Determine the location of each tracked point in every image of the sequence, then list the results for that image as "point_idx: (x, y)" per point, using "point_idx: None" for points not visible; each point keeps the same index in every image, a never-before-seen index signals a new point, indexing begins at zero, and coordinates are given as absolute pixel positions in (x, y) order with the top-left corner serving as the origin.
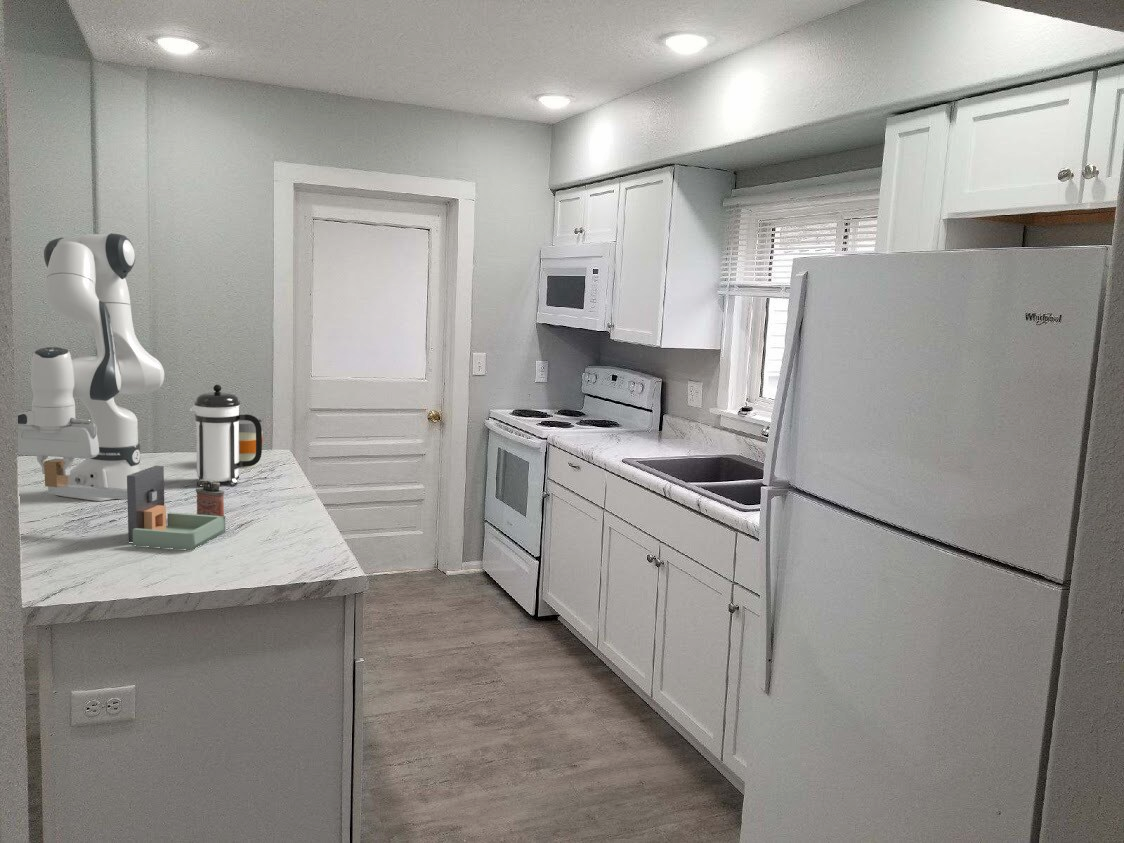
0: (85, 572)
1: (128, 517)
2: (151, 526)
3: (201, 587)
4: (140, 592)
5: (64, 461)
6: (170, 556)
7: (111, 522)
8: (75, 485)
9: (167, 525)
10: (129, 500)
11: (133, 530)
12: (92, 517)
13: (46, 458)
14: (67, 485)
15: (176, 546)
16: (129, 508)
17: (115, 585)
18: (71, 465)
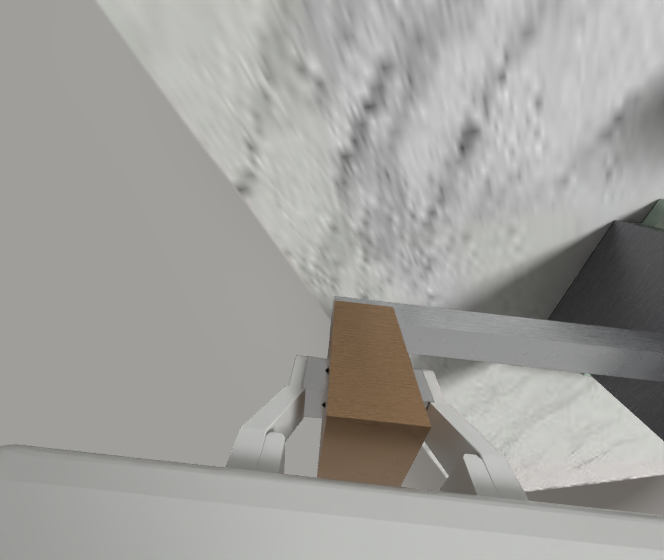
0: (490, 439)
1: (594, 377)
2: None
3: (650, 468)
4: (569, 478)
5: (446, 486)
6: None
7: (467, 162)
8: (439, 332)
9: (661, 217)
10: (653, 425)
11: (583, 373)
12: (387, 104)
13: (284, 447)
14: (405, 335)
15: None
16: (624, 400)
17: (537, 465)
18: (462, 417)
